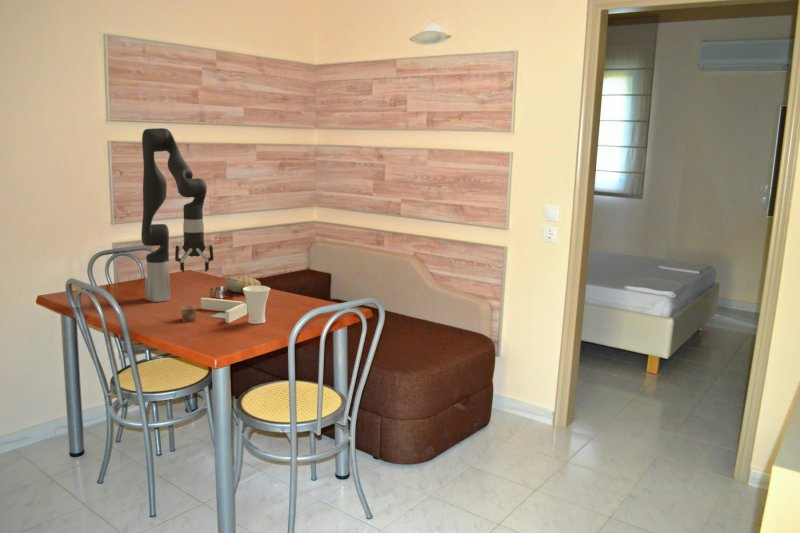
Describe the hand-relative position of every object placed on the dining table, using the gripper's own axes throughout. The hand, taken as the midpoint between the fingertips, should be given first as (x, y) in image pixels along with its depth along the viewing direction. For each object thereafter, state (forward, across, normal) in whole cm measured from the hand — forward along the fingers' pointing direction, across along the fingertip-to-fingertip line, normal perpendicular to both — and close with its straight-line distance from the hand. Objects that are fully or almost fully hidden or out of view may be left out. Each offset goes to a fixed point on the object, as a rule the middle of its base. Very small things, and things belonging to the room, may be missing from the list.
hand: (194, 271), depth 259 cm
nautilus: (+19, +20, +45) cm, 53 cm away
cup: (+19, +23, -10) cm, 31 cm away
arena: (+19, +7, +3) cm, 21 cm away
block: (+19, -3, -1) cm, 19 cm away
